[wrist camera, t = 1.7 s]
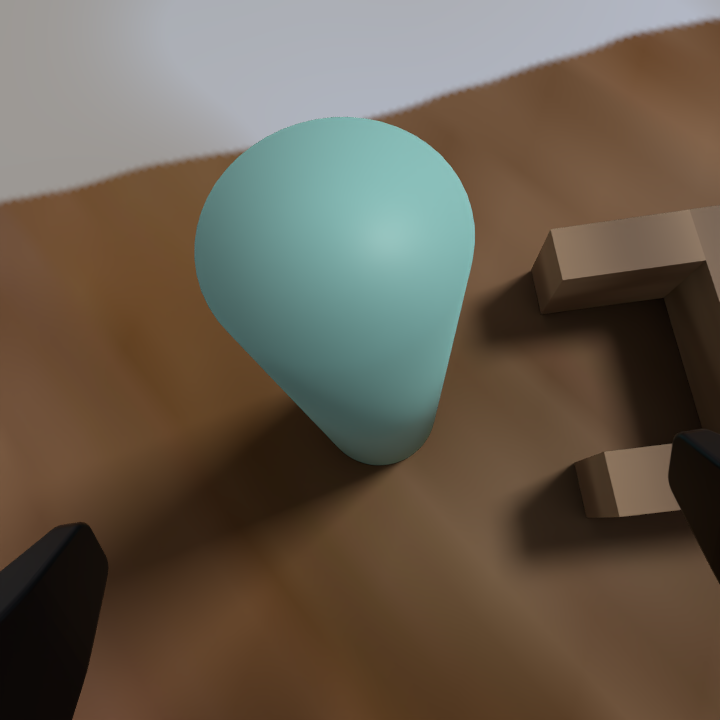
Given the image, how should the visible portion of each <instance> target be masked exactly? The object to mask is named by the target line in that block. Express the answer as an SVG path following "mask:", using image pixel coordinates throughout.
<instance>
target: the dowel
mask: <svg viewBox="0 0 720 720" xmlns="http://www.w3.org/2000/svg"><path fill="white" fill-rule="evenodd" d="M474 245H475V226H474V220H473V214H472V209H471V206H470V203H469V199H468V196H467V194H466V192H465V189H464V187H463V185H462V183H461V181H460V179H459V178H458V176H457V175H456V173H455V172H454V171H453V169H452V168H451V166H450V165H449V164H448V163H447V162H446V161H445V159H444V158H443V157H442V156H441V155H440V154H439V153H438V152H437V151H435V150H434V149H433V148H432V147H431V146H429V145H428V144H427V143H426V142H424V141H422V140H421V139H419V138H418V137H416V136H415V135H413V134H411V133H409V132H407V131H405V130H402V129H400V128H398V127H395V126H392V125H389V124H386V123H383V122H379V121H375V120H370V119H364V118H353V117H331V118H323V119H315V120H311V121H307V122H303V123H299V124H296V125H293V126H290V127H287V128H284V129H282V130H280V131H278V132H276V133H274V134H272V135H270V136H267V137H266V138H264V139H263V140H261V141H259V142H258V143H256V144H255V145H253V146H252V147H250V148H249V149H248V150H247V151H245V152H244V153H243V154H242V155H240V156H239V157H238V158H237V159H236V160H235V161H234V162H233V163H232V164H231V165H230V166H229V167H228V168H227V169H226V171H225V172H224V173H223V174H222V176H221V177H220V178H219V180H218V181H217V182H216V184H215V186H214V187H213V189H212V191H211V192H210V194H209V196H208V198H207V200H206V202H205V205H204V207H203V209H202V212H201V215H200V219H199V222H198V225H197V231H196V238H195V266H196V273H197V278H198V281H199V284H200V288H201V291H202V293H203V296H204V298H205V300H206V302H207V304H208V306H209V308H210V310H211V311H212V313H213V314H214V316H215V317H216V319H217V320H218V321H219V323H220V324H221V325H222V326H223V327H224V328H225V329H226V330H227V332H228V333H229V334H230V335H231V336H232V337H233V338H234V339H235V340H236V341H237V342H238V343H239V344H240V345H241V346H242V347H243V348H244V350H245V351H246V352H247V353H248V354H249V355H250V356H251V357H252V358H253V359H254V360H255V361H256V362H257V363H258V364H259V365H260V366H261V367H262V368H263V369H264V370H265V372H266V373H267V374H268V375H269V376H270V377H271V378H272V379H273V380H274V381H275V382H276V383H277V384H278V385H279V386H280V387H281V388H282V389H283V390H284V391H285V392H286V393H287V395H288V396H289V397H290V398H291V399H292V400H293V401H294V402H295V403H296V404H297V405H298V406H299V407H300V408H301V409H302V410H303V411H304V412H305V413H306V414H307V415H308V417H309V418H310V419H311V420H312V421H313V422H314V423H315V424H316V425H317V426H318V427H319V428H320V429H321V430H322V431H323V432H324V433H325V434H326V435H327V436H328V437H329V438H330V440H331V441H332V442H333V443H334V444H335V445H336V446H337V447H338V448H339V449H340V450H341V451H342V452H344V453H345V454H346V455H347V456H349V457H351V458H352V459H354V460H357V461H359V462H362V463H365V464H370V465H389V464H393V463H397V462H399V461H402V460H404V459H406V458H408V457H410V456H411V455H412V454H414V453H415V452H416V451H417V450H418V449H419V448H420V447H421V446H422V445H423V444H424V443H425V441H426V440H427V438H428V436H429V435H430V432H431V430H432V427H433V424H434V420H435V416H436V412H437V408H438V403H439V399H440V395H441V391H442V387H443V382H444V378H445V374H446V370H447V365H448V361H449V357H450V353H451V349H452V344H453V340H454V336H455V332H456V328H457V323H458V319H459V315H460V311H461V307H462V302H463V298H464V294H465V290H466V285H467V281H468V277H469V273H470V269H471V264H472V260H473V253H474Z"/></svg>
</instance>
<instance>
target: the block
mask: <svg viewBox="0 0 720 720" xmlns="http://www.w3.org/2000/svg"><path fill="white" fill-rule="evenodd" d="M531 271H532V275H533V280H534V284H535V289H536V293H537V298H538V302H539V307H540V311H541V314H548V313H555V312H563V311H570V310H578V309H585V308H592V307H600V306H607V305H615V304H622V303H629V302H637V301H644V300H651V299H659V298H664V301H665V304H666V307H667V311H668V314H669V318H670V321H671V324H672V328H673V331H674V334H675V338H676V341H677V345H678V348H679V351H680V355H681V358H682V362H683V365H684V368H685V372H686V375H687V379H688V382H689V385H690V389H691V392H692V396H693V399H694V402H695V406H696V409H697V412H698V416H699V419H700V423H701V426H702V429H708V430H711V431H713V432H716V433H718V434H720V205H718V206H711V207H704V208H697V209H690V210H683V211H676V212H669V213H662V214H655V215H648V216H641V217H634V218H627V219H620V220H613V221H606V222H599V223H592V224H585V225H578V226H571V227H564V228H557V229H551V230H550V232H549V234H548V236H547V238H546V240H545V242H544V244H543V246H542V249H541V251H540V253H539V255H538V257H537V259H536V261H535V263H534V265H533V267H532V269H531ZM671 449H672V444H664V445H656V446H648V447H640V448H632V449H624V450H615V451H607V452H602V453H600V454H597V455H594V456H591V457H589V458H586V459H583V460H581V461H578V462H575V463H574V464H575V468H576V473H577V477H578V482H579V486H580V491H581V495H582V500H583V504H584V508H585V513H586V517H587V518H602V517H624V516H632V515H641V514H650V513H658V512H667V511H675V510H681V509H680V507H679V505H678V503H677V501H676V499H675V497H674V495H673V493H672V491H671V488H670V486H669V481H668V470H669V463H670V456H671Z"/></svg>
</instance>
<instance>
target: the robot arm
mask: <svg viewBox="0 0 720 720" xmlns="http://www.w3.org/2000/svg"><path fill="white" fill-rule="evenodd" d="M668 481H669V486H670V488H671V491H672V493H673V495H674V497H675V499H676V501H677V503H678V505H679V507H680V509H681V511H682V513H683V515H684V517H685V518H686V520H687V522H688V524H689V526H690V528H691V530H692V532H693V534H694V536H695V538H696V540H697V542H698V544H699V546H700V548H701V550H702V552H703V554H704V556H705V558H706V559H707V561H708V563H709V565H710V567H711V569H712V571H713V573H714V575H715V576H716V578H717V580H718V582H719V584H720V434H718V433H716V432H713V431H711V430H708V429H695V430H689V431H682V432H679V433H677V434H676V435H675V436H674V438H673V442H672V449H671V456H670V463H669V470H668ZM107 576H108V561H107V558H106V555H105V554H104V552H103V550H102V548H101V546H100V544H99V543H98V541H97V539H96V537H95V535H94V533H93V532H92V530H91V528H90V527H89V525H87V524H86V523H83V522H77V523H71V524H64V525H60V526H57V527H55V528H54V529H52V530H51V531H50V532H49V533H47V534H46V535H45V536H44V537H42V538H41V539H40V540H39V541H38V542H36V543H35V544H34V545H33V546H31V547H30V548H29V549H28V550H26V551H25V552H24V553H23V554H21V555H20V556H19V557H18V558H17V559H15V560H14V561H13V562H12V563H10V564H9V565H8V566H7V567H5V568H4V569H3V570H2V571H0V720H72V718H73V715H74V712H75V709H76V705H77V702H78V699H79V696H80V693H81V690H82V686H83V683H84V679H85V676H86V673H87V669H88V665H89V661H90V656H91V652H92V647H93V643H94V638H95V633H96V628H97V623H98V619H99V614H100V609H101V604H102V600H103V595H104V590H105V585H106V581H107Z"/></svg>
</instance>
